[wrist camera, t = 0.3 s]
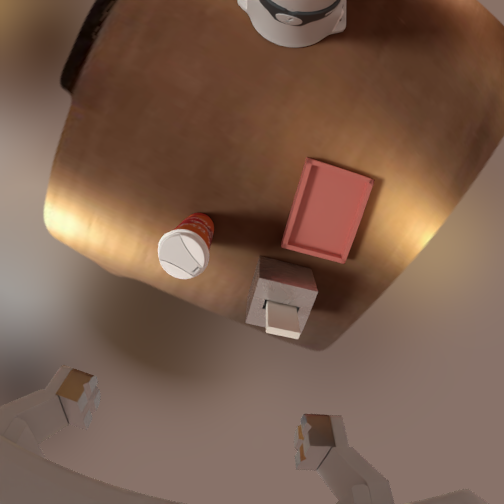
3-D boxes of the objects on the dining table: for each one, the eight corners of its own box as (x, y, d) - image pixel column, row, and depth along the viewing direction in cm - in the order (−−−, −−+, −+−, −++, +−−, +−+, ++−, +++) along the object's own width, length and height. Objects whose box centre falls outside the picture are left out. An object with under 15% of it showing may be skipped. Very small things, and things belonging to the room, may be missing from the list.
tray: (306, 157, 52) (308, 158, 50) (369, 177, 53) (374, 180, 51) (280, 242, 58) (281, 247, 56) (341, 258, 59) (344, 263, 57)
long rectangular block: (267, 287, 57) (268, 326, 46) (294, 293, 57) (300, 333, 46) (265, 292, 58) (265, 332, 46) (292, 299, 58) (297, 339, 47)
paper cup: (229, 226, 57) (219, 257, 44) (201, 255, 60) (185, 291, 47) (196, 197, 55) (176, 220, 42) (170, 227, 58) (144, 257, 45)
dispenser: (259, 255, 59) (259, 277, 51) (311, 268, 60) (318, 291, 52) (247, 296, 63) (245, 322, 54) (296, 307, 63) (300, 334, 55)
